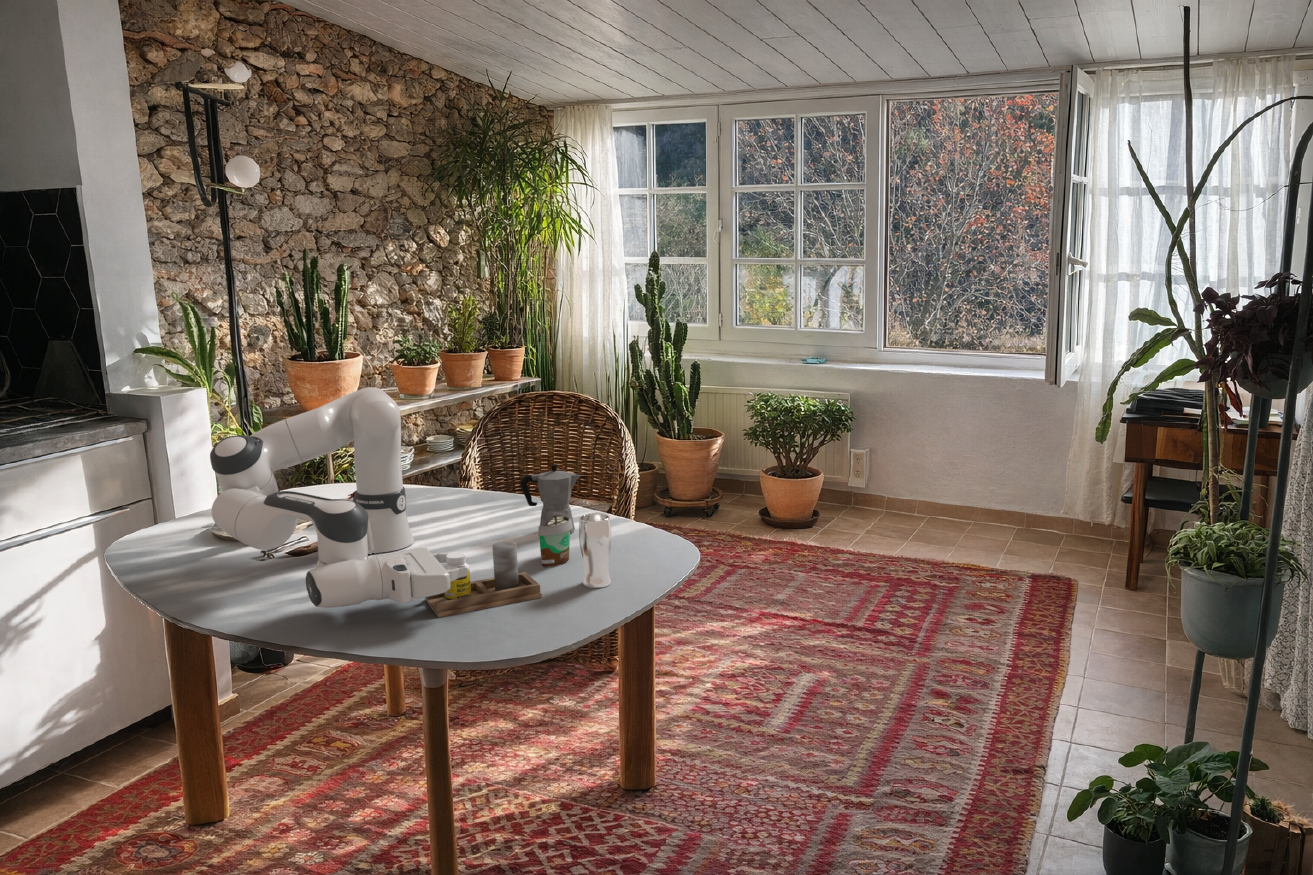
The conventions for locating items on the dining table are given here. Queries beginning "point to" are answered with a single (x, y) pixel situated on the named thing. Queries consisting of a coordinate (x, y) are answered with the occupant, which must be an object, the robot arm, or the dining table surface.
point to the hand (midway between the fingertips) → (460, 563)
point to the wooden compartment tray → (492, 586)
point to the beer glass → (595, 549)
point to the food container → (555, 540)
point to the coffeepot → (552, 492)
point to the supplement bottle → (462, 584)
